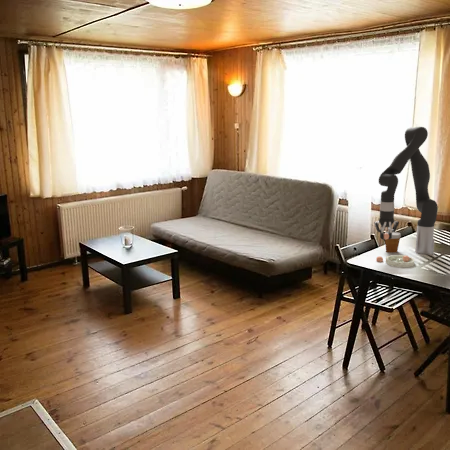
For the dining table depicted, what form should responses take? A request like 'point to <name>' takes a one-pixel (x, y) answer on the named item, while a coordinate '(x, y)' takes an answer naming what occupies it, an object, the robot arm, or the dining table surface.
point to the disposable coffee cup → (393, 242)
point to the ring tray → (399, 261)
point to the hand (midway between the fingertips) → (385, 238)
